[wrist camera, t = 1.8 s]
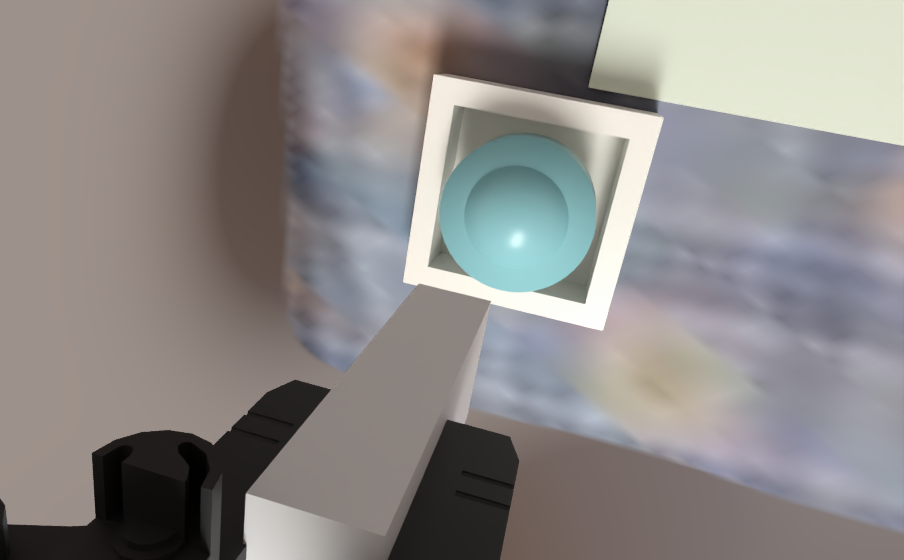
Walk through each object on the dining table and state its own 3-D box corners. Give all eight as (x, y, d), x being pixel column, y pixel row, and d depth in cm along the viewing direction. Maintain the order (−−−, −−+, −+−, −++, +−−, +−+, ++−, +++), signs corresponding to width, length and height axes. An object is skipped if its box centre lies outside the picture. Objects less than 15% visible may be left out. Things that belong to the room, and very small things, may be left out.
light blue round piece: (469, 117, 25) (444, 127, 21) (612, 146, 24) (615, 161, 20) (446, 251, 28) (420, 283, 23) (577, 282, 27) (573, 320, 23)
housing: (448, 73, 26) (433, 74, 24) (657, 113, 25) (663, 117, 23) (418, 265, 30) (403, 282, 27) (602, 309, 28) (602, 330, 26)
